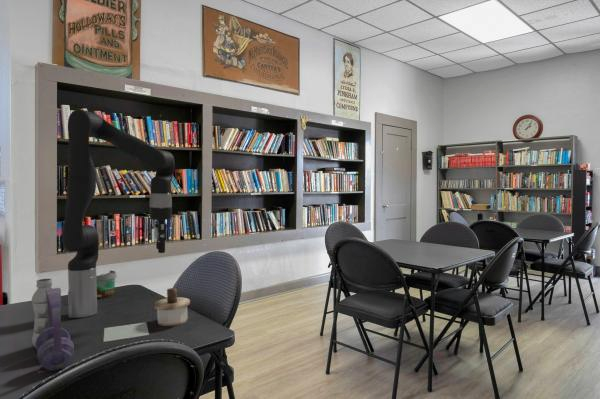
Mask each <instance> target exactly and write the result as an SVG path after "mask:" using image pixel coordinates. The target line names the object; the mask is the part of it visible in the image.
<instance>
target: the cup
mask: <svg viewBox="0 0 600 399" xmlns="http://www.w3.org/2000/svg"><path fill="white" fill-rule="evenodd" d="M156 310H157V311H156V314H157V316H156V317H157V324H158V325H159V326H163V327H170V326H171V327H173V326H178V325H181V324H184V323H186V322H188V319H189V317H188V306H187V307H184V308H180V309H175V310H158V309H156Z"/></svg>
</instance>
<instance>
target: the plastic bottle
mask: <svg viewBox="0 0 600 399" xmlns="http://www.w3.org/2000/svg"><path fill="white" fill-rule="evenodd" d="M35 286H36V288H37V289H36V290H35V292H34V293H33V295H32V297H31V304H32V309H33V317H34V318H33V319H34V323H33V333H32V337H31V342H32V345H33V347H34V348H35V349H36V340H37V338H38V336H39V335H40V334H41V333H42V332H43V331H44V330H46V329H48V305H47V296H46V289H53V287H52V286H53V283H52V278H40V279H37V280H36V285H35Z"/></svg>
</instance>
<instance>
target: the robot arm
mask: <svg viewBox="0 0 600 399" xmlns="http://www.w3.org/2000/svg"><path fill="white" fill-rule="evenodd" d="M67 135H68V137H67V138H68V172H67V181H66V182H67V186H66V187H67V189H66V191H67V192H66V203H65V205H66V206H65V213H64V214H65V215H64V221H63V226H62V232H61V233H62V234H61V243H62V246H63V248H64V249H65V251H67V252H70V253H74V252H75V253H76V254H75V256H74V257H73V258H72V259H71V260H69V261H68V263H67V280H68V291H67V309H68V312H67V314H68V316H67V317H68V319H70V318H73V319H74V318H75V319H76V318H78V319H79V318H87V317H91V316H94V315H96V314H97V313H98V299H97V281H96V276H97V261H98V260H99V247H100V246H99V244H100V241H99V240H100V239H99V233H98V230H97V229H96V228H95V227H94V225H91V224H84V217H85V212H86V210H87V208H88V206H89V205H90V203H91V201H92V199H93V198H94V195H95V193H96V189H97V170H96V167H95V165H94V162H93V160H92V157H91V153H90V145H89V144H90V138H95V139H99V140H101V141H104V142H107V143H109V144H111V145H113V147H115V148H116V149H118V150H119V151H120V152H122V153H124V154H125V155H128V156H129V157H132V158H133V159H136V160H138V161H139V162H141V163H142V164H144V165H146V166H147V167H149V168H151V169H153V170H155V176H154V177H152V178H151V179H150V195H149V219H150V220H153V221H155V222H154V223H155V224H154V235H155V239H156V242H155V243H156V244H155V245H156V246H155V248H156V250H158V254H165V252H166V241H167V240H168V239H167V234H168V233H167V230H168V225H167V223H166V221H169V220H171V219H172V215H173V198H172V179H173V176H174V171H175V162H176V161H175V157H174V155H173V154H172V153H171V152H170V151H167V150H162V149H158V148H156V147H155V146H154V147H153V146H151V145H150V144H149V143H148V142H147V141H145V140H142V139H141V138H138V137H137V136H135V135H133V134H130V133H128V132H125V131H123V130H122V129H119V128H118V127H116V126H114V125H113V124H111V123H110V122H109V121H107V120H106V119H104V118H103V117H101V116H100V115H99V114H97V113H96V112H91V111H88V110H84V109H74V110H73V111H72V112H71V113H70V114H69V116H68V119H67Z"/></svg>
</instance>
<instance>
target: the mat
mask: <svg viewBox="0 0 600 399" xmlns="http://www.w3.org/2000/svg"><path fill="white" fill-rule="evenodd" d="M148 329H149V328H148V324H147V322H139V323H138V322H137V323H134V324H133V323H131V324H125V325H118V326H110V327H109V326H108V327H104V328H103V330H104V331H103V342H104V343H105V342H112V341H113V342H114V341H118V340H124V339H132V338H138V337H144V336H149V335H150V333H149V330H148Z"/></svg>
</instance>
